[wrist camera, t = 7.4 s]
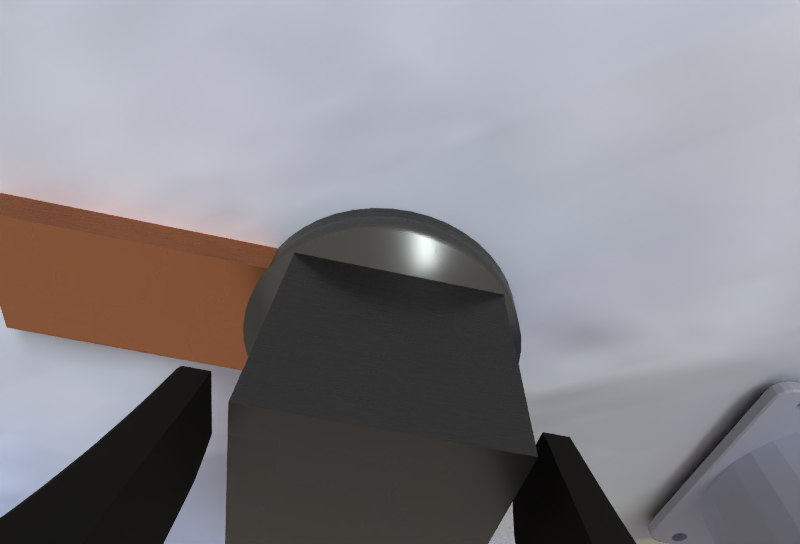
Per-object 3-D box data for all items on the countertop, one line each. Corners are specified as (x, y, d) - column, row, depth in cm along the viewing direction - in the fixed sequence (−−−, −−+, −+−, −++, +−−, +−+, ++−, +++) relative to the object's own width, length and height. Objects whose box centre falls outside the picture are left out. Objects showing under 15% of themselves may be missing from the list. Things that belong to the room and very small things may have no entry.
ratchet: (554, 240, 12) (595, 339, 9) (472, 427, 16) (482, 541, 13) (-17, 120, 11) (-182, 186, 8) (43, 350, 15) (-55, 453, 12)
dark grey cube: (504, 294, 12) (538, 457, 8) (449, 429, 15) (456, 598, 11) (294, 252, 12) (228, 402, 8) (278, 398, 14) (224, 562, 10)
